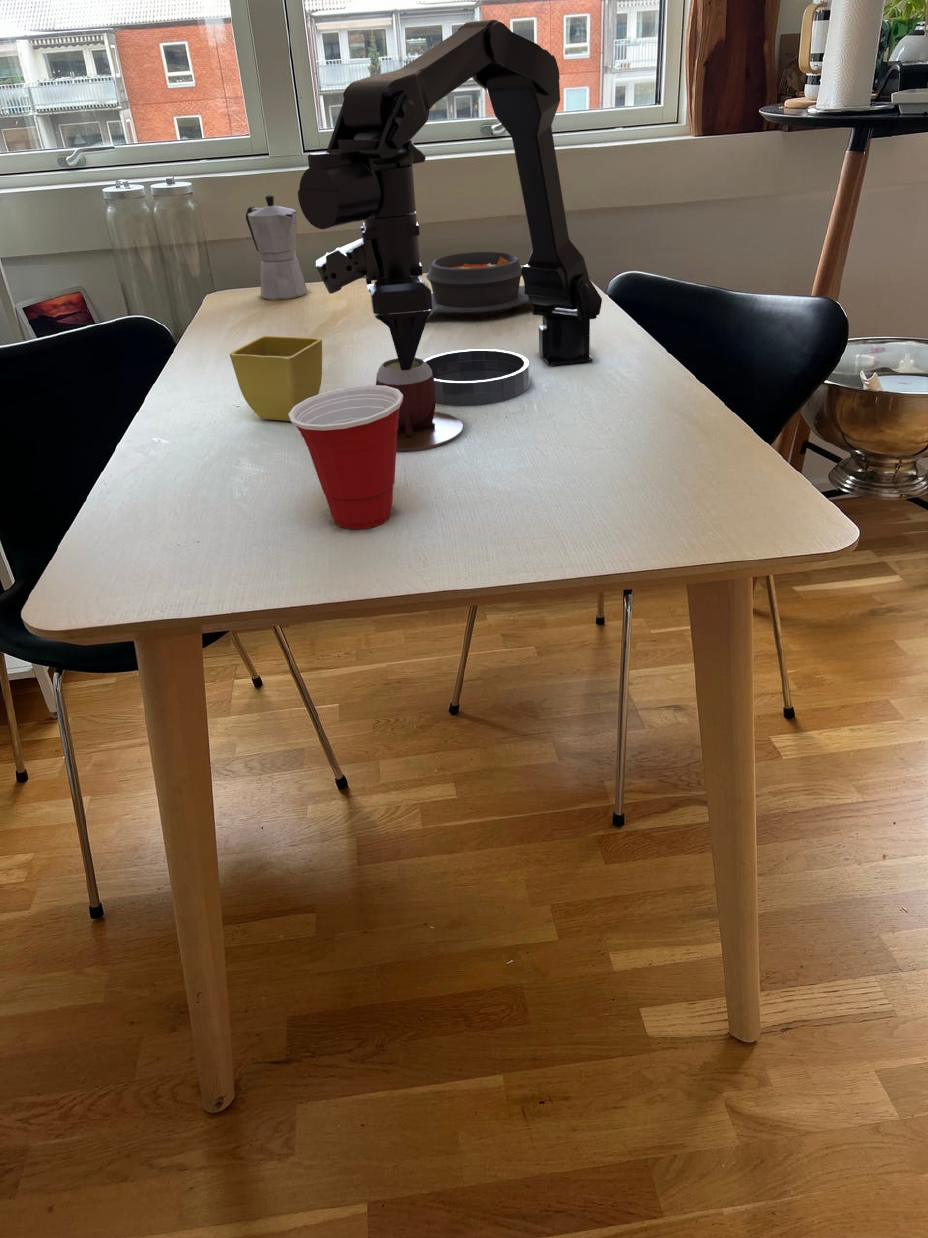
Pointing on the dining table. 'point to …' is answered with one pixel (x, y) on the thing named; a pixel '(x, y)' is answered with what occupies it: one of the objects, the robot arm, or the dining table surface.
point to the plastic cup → (353, 450)
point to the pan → (478, 376)
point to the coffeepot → (277, 250)
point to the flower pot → (278, 373)
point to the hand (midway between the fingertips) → (402, 358)
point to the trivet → (431, 434)
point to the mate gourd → (411, 393)
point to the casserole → (476, 284)
